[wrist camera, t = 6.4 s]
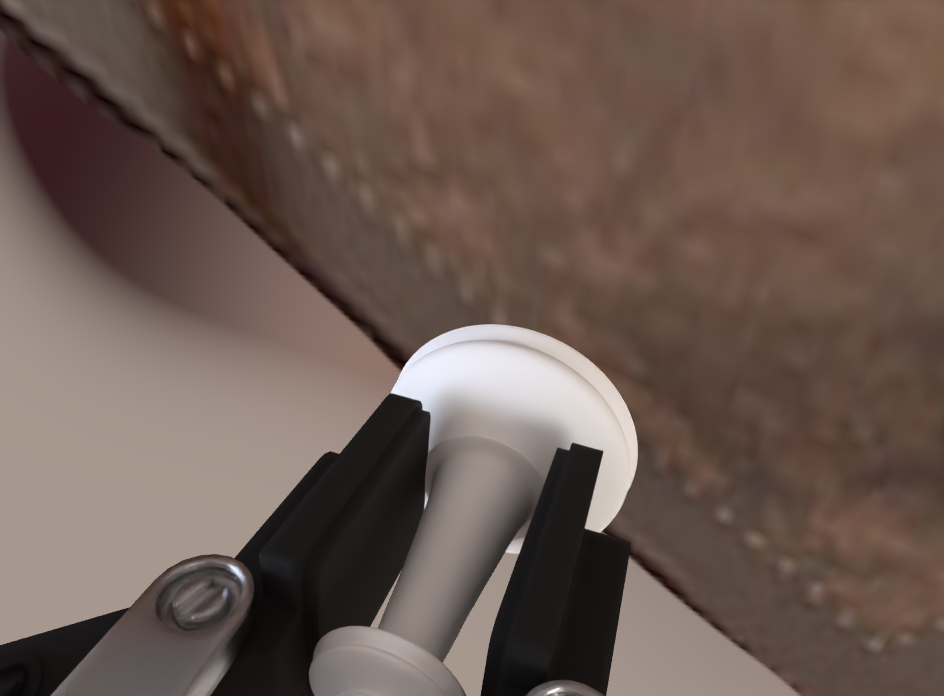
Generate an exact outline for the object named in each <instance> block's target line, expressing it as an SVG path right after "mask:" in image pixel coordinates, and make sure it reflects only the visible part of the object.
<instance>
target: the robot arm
mask: <svg viewBox="0 0 944 696" xmlns="http://www.w3.org/2000/svg"><path fill="white" fill-rule="evenodd" d="M430 420H431V415H430V412H428V411H424V410H422V402H421V401H419V400H415V399H411V398H408V397H404V396H400V395H397V394H393V393H392V394H389V395H388V396H387V397H386V398H385V399H384V401H383V402H382V403H381V405H379V407H378V408H377V409H376V410H375V412H374V413H373V414H372V415H371V416H370V418H369V419H368V420H367V421H366V423H365V424H364V425H363V426H362V427H361V429H360V430H359V431H358V433H357V434H356V435H355V436H354V437H353V438H352V440H351V441H350V442H349V443H348V445H347V446H346V447H345V448H344V449H343V451H342V452H341V453H340V454H337V453H334V452H328V453H325V454H324V455H323V456H322V457H321V458H320V459H319V460H318V461H317V462H316V464H315V465H314V466H313V467H312V468H311V469H310V470H309V472H308V473H307V474H306V475H305V476H304V477H303V479H302V480H301V481H300V482H299V483H298V485H297V486H296V487H295V488H294V489H293V490H292V492H291V493H290V494H289V495H288V496H287V497H286V499H285V500H284V501H283V502H282V503H281V504H280V506H279V507H278V508H277V509H276V510H275V511H274V513H273V514H272V515H271V516H270V517H269V518H268V520H267V521H266V522H265V523H264V524H263V525H262V527H261V528H260V529H259V530H258V531H257V532H256V534H255V535H254V536H253V537H252V538H251V539H250V541H249V542H248V543H247V544H246V546H245V547H244V548H243V549H242V550H241V551H240V552H239V554H238V555H237V556H236V557H235V558H232V557H228V556H223V555H217V554H213V555H200V556H197V557H193V558H190V559H186V560H183V561H181V562H179V563H178V564H176V565H174V566H172V567H170V568H168V569H167V570H166V571H165V572H164V573H162V574H161V575H160V576H159V577H158V578H157V579H156V580H155V581H154V582H153V583H152V584H151V585H150V586H149V587H148V589H146V590H145V592H144V593H143V594H142V595H141V596H140V597H139V598H138V599H137V600H136V601H135V603H134V604H133V605H132V606H131V607H129V608H126V609H122V610H119V611H116V612H112V613H109V614H106V615H102V616H99V617H95V618H92V619H88V620H85V621H81V622H78V623H75V624H71V625H68V626H64V627H61V628H58V629H54V630H51V631H47V632H44V633H41V634H37V635H34V636H30V637H27V638H23V639H20V640H17V641H13V642H10V643H6V644H3V645H0V696H314V694H313V691H312V689H311V685H310V681H309V670H310V666H311V663H312V661H313V655H314V650H315V647H316V645H317V643H318V642H319V640H320V639H321V638H322V637H323V636H324V635H326V634H327V633H329V632H330V631H332V630H335V629H338V628H342V627H347V626H366V627H370V626H371V624H372V622H373V620H374V619H375V617H376V615H377V613H378V611H379V609H380V607H381V606H382V604H383V602H384V600H385V599H386V597H387V595H388V593H389V591H390V589H391V588H392V586H393V584H394V582H395V580H396V579H397V577H398V575H399V573H400V571H401V569H402V568H403V565H404V563H405V560H406V558H407V555H408V553H409V550H410V547H411V545H412V542H413V539H414V536H415V534H416V531H417V528H418V526H419V523H420V520H421V518H422V515H423V512H424V505H425V475H426V464H427V456H428V448H429V434H430ZM603 452H604V451H602V450H598V449H594V448H591V447H587V446H583V445H580V444H576V443H572V444H571V447H570V450H566V449H562V448H557V450H556V453H555V456H554V458H553V461H552V464H551V467H550V469H549V472H548V475H547V478H546V481H545V483H544V486H543V489H542V492H541V494H540V497H539V500H538V503H537V506H536V508H535V511H534V514H533V517H532V519H531V522H530V525H529V528H528V531H527V533H526V536H525V539H524V542H523V544H522V547H521V550H520V553H519V556H518V558H517V561H516V564H515V567H514V570H513V572H512V575H511V578H510V581H509V584H508V586H507V589H506V592H505V595H504V597H503V600H502V603H501V606H500V609H499V612H498V614H497V617H496V620H495V624H494V627H493V631H492V634H491V638H490V643H489V648H488V654H487V660H486V666H485V672H484V678H483V684H482V690H481V696H606V692H607V687H608V681H609V674H610V668H611V662H612V656H613V650H614V644H615V638H616V632H617V625H618V620H619V614H620V607H621V601H622V595H623V589H624V583H625V577H626V571H627V565H628V559H629V553H630V543H631V542H628V541H625V540H621V539H618V538H615V537H611V536H608V535H605V534H602V533H598V532H595V531H592V530H588V529H585V525H586V521H587V517H588V513H589V509H590V505H591V501H592V497H593V493H594V489H595V485H596V481H597V476H598V472H599V468H600V464H601V460H602V456H603Z"/></svg>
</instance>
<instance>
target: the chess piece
mask: <svg viewBox="0 0 944 696" xmlns="http://www.w3.org/2000/svg"><path fill="white" fill-rule="evenodd" d="M392 393H393V394H397V395H400V396H404V397H408V398H411V399H415V400H419V401H421V402H422V410H424V411H428V412H430V415H431V420H430V434H429V448H428V456H427V464H426V475H425V505H424V512H423V515H422V518H421V520H420V523H419V526H418V528H417V531H416V534H415V536H414V539H413V542H412V545H411V547H410V550H409V553H408V555H407V558H406V560H405V563H404V565H403V568H402V571H401V573H400V576H399V579H398V581H397V584H396V586H395V588H394V591H393V593H392V595H391V597H390V600H389V602H388V605H387V607H386V609H385V612H384V614H383V617H382V620H381V622H380V624H379V627H378V628H373V627H366V626H347V627H342V628H338V629H335V630H332V631H330V632H329V633H327V634H326V635H324V636H323V637H322V638H321V639H320V640H319V642H318V643H317V645H316V647H315V650H314V655H313V661H312V663H311V666H310V670H309V681H310V685H311V689H312V691H313V694H314V696H466V694H465V692H464V690H463V688H462V686H461V685H460V683H459V682H458V680H457V679H456V678H455V676H454V675H453V674H452V673H451V671H450V670H449V669H448V668H447V667H446V666H445V665H444V664H443V661H444V659H445V658H446V656H447V654H448V652H449V650H450V649H451V647H452V645H453V643H454V641H455V640H456V638H457V636H458V633H459V632H460V629H461V628H462V626H463V624H464V622H465V620H466V618H467V616H468V615H469V613H470V611H471V610H472V608H473V606H474V605H475V603H476V601H477V599H478V597H479V596H480V594H481V592H482V590H483V589H484V587H485V585H486V584H487V582H488V580H489V578H490V577H491V575H492V573H493V572H494V570H495V568H496V566H497V565H498V563H499V561H500V560H501V558H502V556H503V555H504V553H505V552H508V553H515V554H519V553H520V550H521V547H522V544H523V542H524V539H525V536H526V533H527V531H528V528H529V525H530V522H531V519H532V517H533V514H534V511H535V508H536V506H537V503H538V500H539V497H540V494H541V492H542V489H543V486H544V483H545V481H546V478H547V475H548V472H549V469H550V467H551V464H552V461H553V458H554V456H555V453H556V450H557V448H562V449H566V450H570V447H571V444H572V443H576V444H580V445H583V446H587V447H591V448H594V449H598V450H602V451H604V452H603V456H602V460H601V464H600V468H599V472H598V476H597V481H596V485H595V489H594V493H593V497H592V501H591V505H590V509H589V513H588V517H587V521H586V525H585V529H588V530H592V531H595V532H598V533H600V532H601V531H602V530H603V529H604V528H605V527H606V526H607V525H608V524H609V523H610V522H611V521H612V520H613V518H614V517H615V516H616V514H617V513H618V511H619V510H620V508H621V506H622V504H623V501H624V499H625V497H626V493H627V491H628V490H629V488H630V486H631V483H632V481H633V478H634V475H635V471H636V466H637V458H638V444H637V436H636V431H635V427H634V423H633V420H632V418H631V415H630V413H629V410H628V408H627V406H626V404H625V402H624V400H623V399H622V397H621V395H620V394H619V392H618V391H617V389H616V388H615V386H614V385H613V384H612V383H611V381H610V380H609V379H608V378H607V377H606V376H605V374H604V373H603V372H602V371H601V370H600V369H599V368H598V367H597V366H595V365H594V364H593V363H592V362H591V361H590V360H588V359H587V358H586V357H584V356H583V355H582V354H580V353H579V352H578V351H576V350H574V349H573V348H571V347H570V346H568V345H566V344H564V343H563V342H561V341H558V340H556V339H554V338H552V337H550V336H547V335H545V334H542V333H539V332H536V331H533V330H529V329H525V328H521V327H516V326H509V325H497V324H485V325H474V326H467V327H463V328H459V329H455V330H452V331H449V332H447V333H444V334H442V335H440V336H438V337H436V338H434V339H433V340H431V341H429V342H428V343H426V344H425V345H424V346H423V347H421V348H420V349H419V350H418V351H417V352H416V353H415V354H414V355H413V356H412V357H411V358H410V360H409V361H408V362H407V364H406V365H405V367H404V368H403V370H402V372H401V374H400V376H399V378H398V381H397V382H396V384H395V386H394V388H393V389H392V392H391V394H392Z"/></svg>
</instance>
